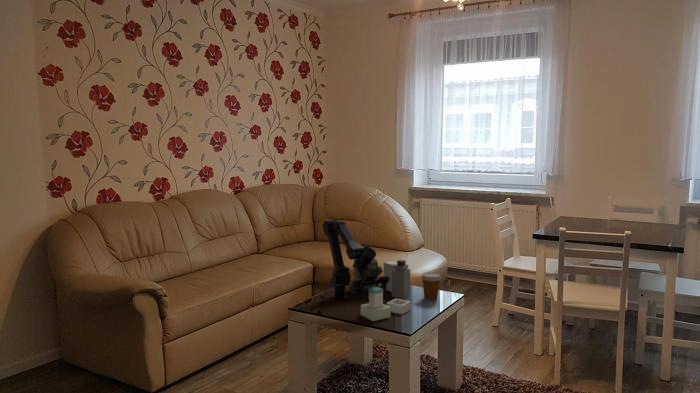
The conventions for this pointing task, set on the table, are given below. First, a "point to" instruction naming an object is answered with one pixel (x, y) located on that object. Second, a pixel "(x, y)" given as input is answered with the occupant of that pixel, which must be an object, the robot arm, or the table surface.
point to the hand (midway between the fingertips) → (377, 300)
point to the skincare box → (389, 273)
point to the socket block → (375, 312)
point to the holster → (399, 306)
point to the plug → (375, 297)
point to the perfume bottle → (401, 280)
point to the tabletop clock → (371, 265)
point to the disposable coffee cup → (431, 285)
